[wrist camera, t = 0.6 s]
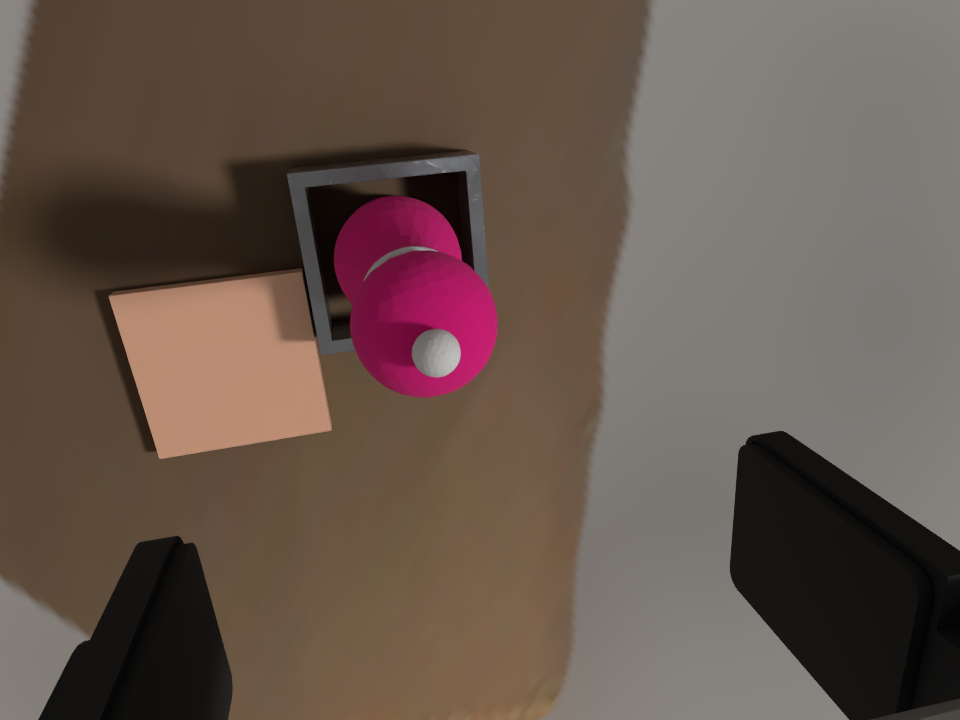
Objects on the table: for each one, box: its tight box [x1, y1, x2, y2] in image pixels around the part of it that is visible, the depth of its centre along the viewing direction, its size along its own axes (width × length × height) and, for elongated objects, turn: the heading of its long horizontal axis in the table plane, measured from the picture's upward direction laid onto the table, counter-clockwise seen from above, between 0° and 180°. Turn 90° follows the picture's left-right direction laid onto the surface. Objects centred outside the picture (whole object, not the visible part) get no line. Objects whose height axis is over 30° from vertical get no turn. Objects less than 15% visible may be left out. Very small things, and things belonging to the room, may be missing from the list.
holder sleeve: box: [287, 150, 489, 355], centre depth 39 cm, size 11×11×4 cm
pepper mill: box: [334, 196, 498, 398], centre depth 32 cm, size 7×7×20 cm
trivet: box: [109, 268, 332, 459], centre depth 41 cm, size 11×11×1 cm
